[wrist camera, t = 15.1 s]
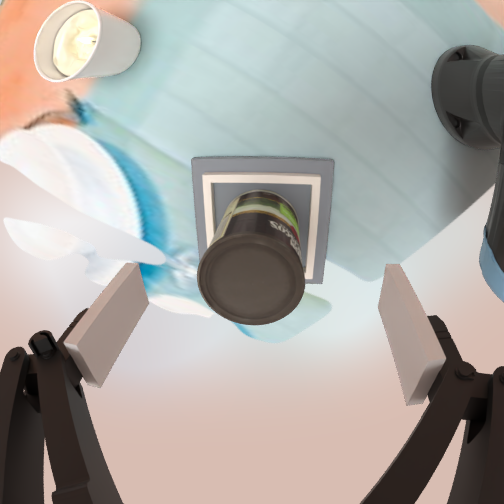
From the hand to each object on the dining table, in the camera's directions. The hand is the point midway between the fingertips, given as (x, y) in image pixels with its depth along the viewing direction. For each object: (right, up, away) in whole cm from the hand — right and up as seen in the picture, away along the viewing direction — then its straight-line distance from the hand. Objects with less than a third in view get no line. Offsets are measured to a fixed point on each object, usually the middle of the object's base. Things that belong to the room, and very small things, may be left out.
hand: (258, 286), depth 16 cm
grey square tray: (+1, +6, +27) cm, 28 cm away
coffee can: (+1, +5, +26) cm, 26 cm away
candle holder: (-19, +30, +17) cm, 39 cm away
